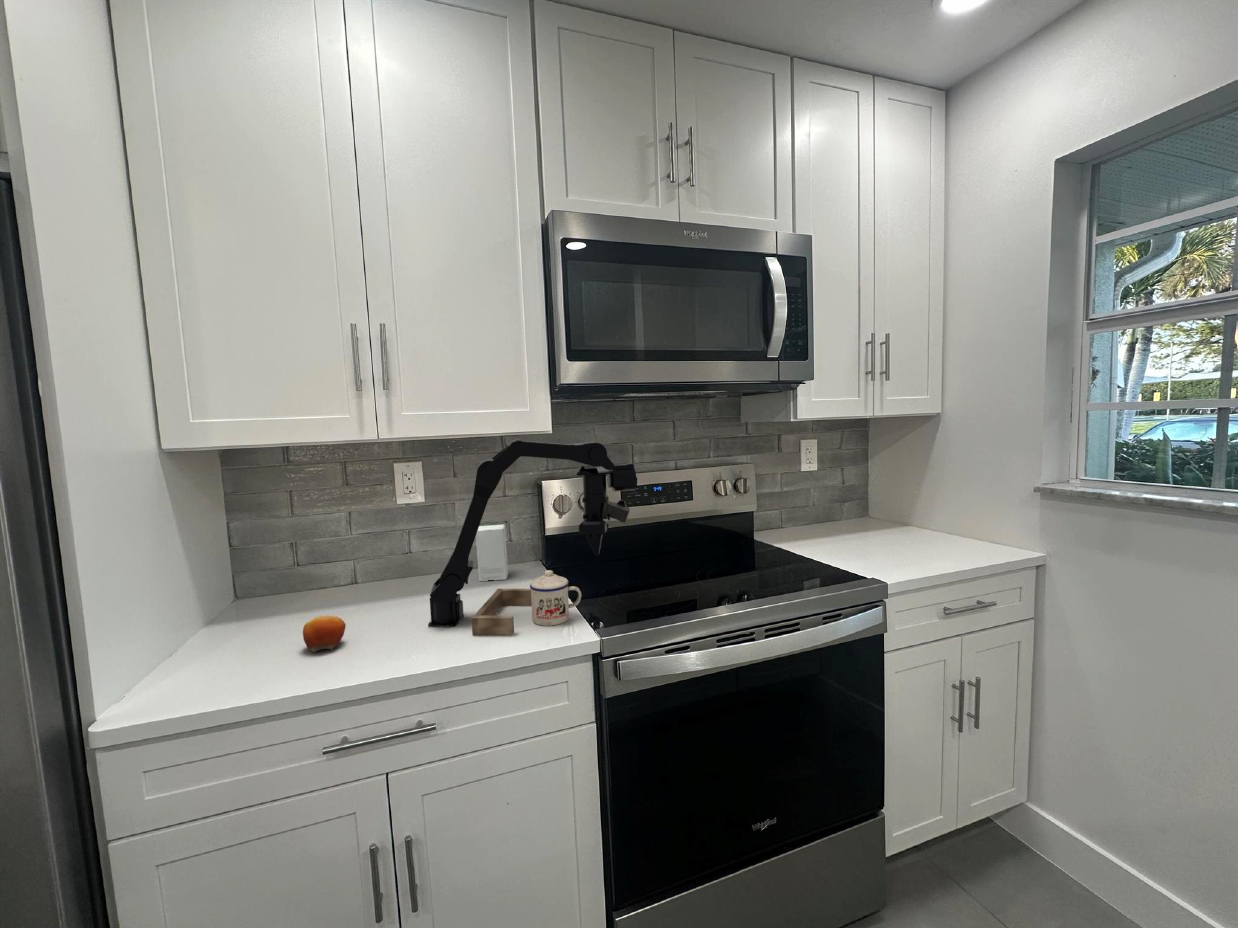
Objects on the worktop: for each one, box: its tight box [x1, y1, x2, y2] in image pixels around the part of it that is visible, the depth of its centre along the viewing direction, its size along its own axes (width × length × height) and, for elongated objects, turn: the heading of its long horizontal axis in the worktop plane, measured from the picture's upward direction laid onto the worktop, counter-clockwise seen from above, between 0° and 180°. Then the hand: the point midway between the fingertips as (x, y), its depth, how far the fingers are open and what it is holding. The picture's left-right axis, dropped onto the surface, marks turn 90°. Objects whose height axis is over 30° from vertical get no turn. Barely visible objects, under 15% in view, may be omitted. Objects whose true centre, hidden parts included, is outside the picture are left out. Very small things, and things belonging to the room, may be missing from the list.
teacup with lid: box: [529, 569, 582, 627], centre depth 128 cm, size 12×9×12 cm
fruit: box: [302, 615, 347, 655], centre depth 115 cm, size 8×8×8 cm
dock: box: [471, 588, 532, 637], centre depth 129 cm, size 9×20×4 cm, turn 176°
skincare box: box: [475, 524, 509, 582], centre depth 161 cm, size 8×7×16 cm
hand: (596, 554), depth 136 cm, fingers closed
